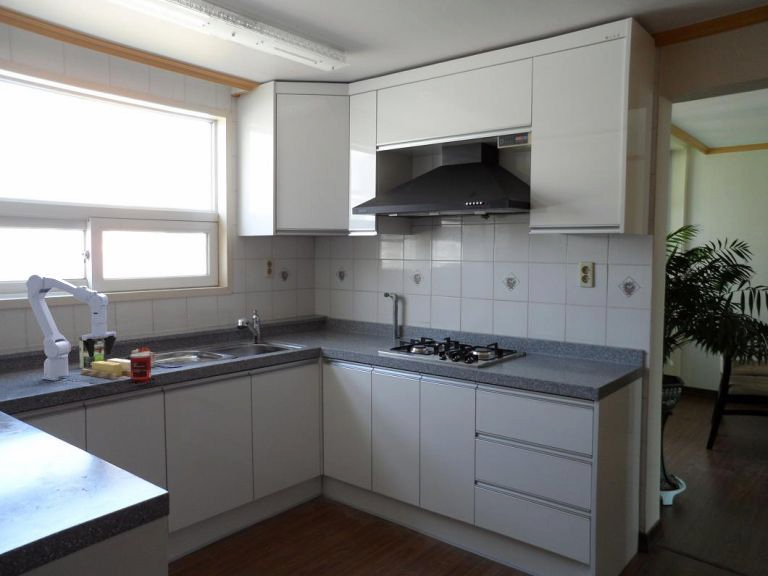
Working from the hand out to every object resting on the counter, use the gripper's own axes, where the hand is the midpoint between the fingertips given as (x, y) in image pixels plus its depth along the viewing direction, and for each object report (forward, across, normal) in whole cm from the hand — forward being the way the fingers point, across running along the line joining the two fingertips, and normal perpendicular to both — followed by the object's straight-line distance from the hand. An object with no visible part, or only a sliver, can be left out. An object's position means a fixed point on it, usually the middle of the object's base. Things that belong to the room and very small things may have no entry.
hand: (99, 355), depth 249 cm
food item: (+10, +24, +4) cm, 26 cm away
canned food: (+10, +6, -18) cm, 22 cm away
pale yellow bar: (+8, +2, -2) cm, 9 cm away
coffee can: (+10, +15, +27) cm, 33 cm away
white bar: (+8, +9, -2) cm, 12 cm away
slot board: (+10, +6, -2) cm, 11 cm away
